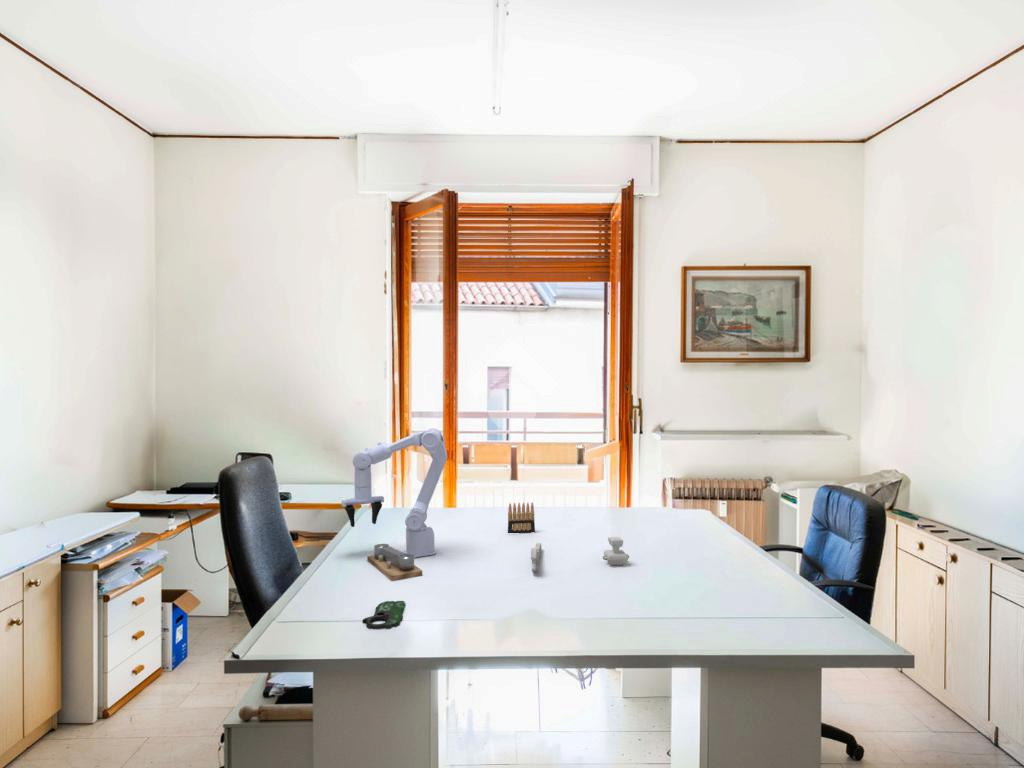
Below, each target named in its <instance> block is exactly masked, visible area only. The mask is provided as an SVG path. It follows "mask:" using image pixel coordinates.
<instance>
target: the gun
mask: <svg viewBox="0 0 1024 768" xmlns="http://www.w3.org/2000/svg"><path fill="white" fill-rule="evenodd" d="M404 608H406V601H404V600H396V601H395V600H391V601H390V600H388V601H387V600H386V601H382V602H380V603H379V604H377V606H376V607H375V611H374V614H373V615H371V616H367V617H365V618H363V619H362V624H365V625H366V626H365V627H366V628H367V629H369V630H371V629H372V630H382V629H386V630H388V629H389V630H391V629H392V628H393V627H394V628H396V627H397V628H398V626H400V625H401V622H402V621H403V618H404V617H403V616H404V615H403V614H404V611H405V609H404ZM384 621H385V622H384ZM375 622H382V623H375Z"/></svg>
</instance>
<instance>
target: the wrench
mask: <svg viewBox="0 0 1024 768" xmlns="http://www.w3.org/2000/svg"><path fill="white" fill-rule="evenodd" d="M541 553H542V543H540V542H536V543H535V546H534V547H531V549H530V560H531V572H532V573H538V565H539V559H540V556H541Z"/></svg>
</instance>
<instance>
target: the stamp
mask: <svg viewBox="0 0 1024 768" xmlns="http://www.w3.org/2000/svg"><path fill="white" fill-rule="evenodd" d="M607 540H608V542H609V545H610V546H611V547H612V549H605V550H604V551H603V555H602V559H603V560H604V561H607V562H608V563H609V565H610V566H622V565H623V566H624V565H626V563H627V562H628V560H629V558H630V555H629V554H626V553H625V551H624V550H623V549H620V548H622V547H623V546H624V540H623V539H622V538H621V537H620V536H610V537H609V536H608V537H607Z"/></svg>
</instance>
